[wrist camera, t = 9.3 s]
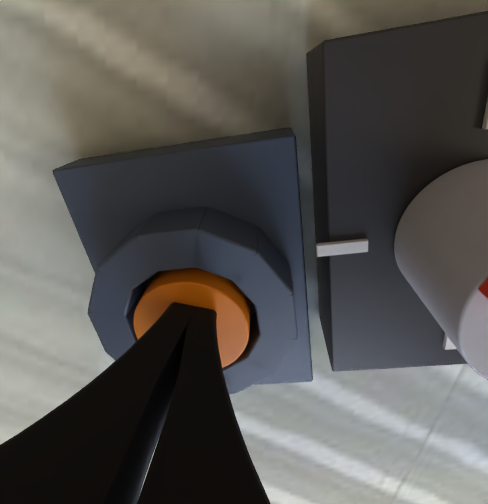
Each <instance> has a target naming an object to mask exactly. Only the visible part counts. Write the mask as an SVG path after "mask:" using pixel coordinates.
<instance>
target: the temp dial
mask: <svg viewBox="0 0 488 504" xmlns="http://www.w3.org/2000/svg"><path fill="white" fill-rule="evenodd" d="M394 253H395V259H396V262H397V265H398V267H399V269H400V271H401V273H402V274H403V275H404V277H405V278H406V280H407V281H408V282H409V284H410V285H411V286H412V288H413V289H414V291H415V292H416V293H417V295H418V296H419V297H420V299H421V300H422V302H423V303H424V304H425V306H426V307H427V308H428V310H429V311H430V313H431V314H432V315H433V317H434V318H435V319H436V321H437V322H438V324H439V325H440V326H441V328H442V329H443V331H444V332H445V333H446V335H447V336H448V337H449V339H450V340H451V342H452V343H453V344H454V346H455V347H456V348H457V350H458V351H459V353H460V354H461V355H462V357H463V358H464V359H465V361H466V362H467V363H468V364H469V366H470V367H471V368H472V369H474V370H475V371H476V372H477V373H478V374H480V375H481V376H483V377H485V378H486V379H488V159H485V160H480V161H475V162H472V163H468V164H465V165H462V166H460V167H457V168H455V169H453V170H450V171H449V172H447V173H445V174H443V175H441V176H440V177H438V178H437V179H435V180H434V181H432V182H431V183H430V184H429V185H427V186H426V187H425V188H424V189H423V190H422V191H421V192H420V193H419V194H418V195H417V196H416V197H415V198H414V199H413V200H412V202H411V203H410V204H409V206H408V207H407V209H406V210H405V212H404V214H403V215H402V217H401V219H400V222H399V224H398V227H397V230H396V234H395V241H394Z"/></svg>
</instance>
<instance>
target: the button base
mask: <svg viewBox="0 0 488 504" xmlns="http://www.w3.org/2000/svg"><path fill="white" fill-rule="evenodd" d="M53 174H54V177H55V179H56V181H57V184H58V186H59V189H60V191H61V193H62V196H63V198H64V200H65V203H66V205H67V208H68V210H69V212H70V215H71V217H72V219H73V222H74V224H75V227H76V229H77V231H78V234H79V236H80V238H81V241H82V243H83V246H84V248H85V250H86V253H87V255H88V257H89V260H90V262H91V265H92V267H93V269H94V272H95V278H94V283H93V288H92V293H91V298H90V303H89V308H88V315H89V317H90V319H91V321H92V323H93V326H94V328H95V330H96V332H97V334H98V336H99V338H100V341H101V343H102V345H103V347H104V349H105V351H106V352H107V354H109V355H110V356H111V357H112V358H114V359H115V360H117V359H118V358H119V357H120V356H122V355H123V354H124V353H125V352H126V351H127V350H128V349H129V348H130V347H131V346H132V345H133V344H134V343H135V342H136V341H137V340H138V338H137V336H136V333H135V330H134V324H133V320H134V312H135V309H136V307H137V305H138V303H139V301H140V299H141V298H142V296H143V294H144V292H145V291H146V289H147V287H148V285H149V284H150V282H151V280H152V279H153V277H154V275H155V273H157V272H158V271H165V270H175V269H185V268H195V267H197V268H199V269H202V270H205V271H208V272H210V273H213V274H216V275H219V276H221V277H224V278H227V279H230V280H232V281H233V282H234V283H235V284H236V285H237V286H238V287H239V288H240V290H241V291H242V292H243V293H244V294H245V295H246V296H247V297H248V298H249V299H250V300H251V312H250V329H249V339H248V343H247V345H246V348H245V349H244V351H243V352H242V354H241V355H240V356H239V357H238V358H237V359H236V360H235V361H234V362H232V363H231V364H229V365H228V366H225V367H223V368H222V369H223V373H224V378H225V382H226V386H227V389H228V393H229V394H233V393H235V392H236V393H237V392H240V391H242V390H244V389H246V388H248V387H250V386H252V385H257V384H275V383H293V382H311V381H312V380H313V375H312V361H311V347H310V333H309V319H308V305H307V290H306V276H305V262H304V248H303V234H302V220H301V206H300V192H299V178H298V164H297V149H296V137H295V135H294V133H293V131H292V130H291V128H284V129H277V130H270V131H264V132H257V133H250V134H244V135H237V136H230V137H224V138H217V139H210V140H204V141H197V142H190V143H184V144H177V145H170V146H163V147H157V148H150V149H143V150H137V151H130V152H123V153H117V154H110V155H103V156H97V157H90V158H83V159H79V160H76V161H74V162H71V163H69V164H66V165H64V166H61V167H59V168H56V169H54V170H53Z"/></svg>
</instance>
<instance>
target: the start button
mask: <svg viewBox="0 0 488 504" xmlns="http://www.w3.org/2000/svg"><path fill="white" fill-rule="evenodd" d="M173 302H177V303H182V304H187V305H192V306H197V307H202V308H208V309H213V310H215V312H216V313H217V319H216V328H217V339H218V347H219V353H220V358H221V364H222V368H223V367H225V366H228V365H229V364H231V363H232V362H234V361H235V360H236V359H237V358H238V357H239V356H240V355H241V354H242V352H243V351H244V349H245V348H246V345H247V343H248V339H249V329H250V312H251V300H250V299H249V298H248V297H247V296H246V295H245V294H244V293H243V292H242V291H241V290H240V288H239V287H238V286H237V285H236V284H235V283H234V282H233V281H232V280H230V279H227V278H224V277H221V276H219V275H216V274H213V273H210V272H208V271H205V270H202V269H199V268H197V267H195V268H185V269H175V270H165V271H158V272H157V273H155V275H154V277H153V279H152V280H151V282H150V284H149V285H148V287H147V289H146V291H145V292H144V294H143V296H142V298H141V299H140V301H139V303H138V305H137V307H136V309H135V312H134V320H133V324H134V330H135V333H136V336H137V338H138V339H139V338H140V337H141V336H142V335H143V334H144V333H145V332H146V331H147V330H148V329H149V328H150V327H151V326H152V325H153V324H154V323H155V322H156V321H157V320H158V319H159V317H160V316H161V315H162V314H163V313H164V311H165V310H166V309H167V308H168V306H169V305H170V304H172V303H173Z"/></svg>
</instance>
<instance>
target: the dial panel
mask: <svg viewBox="0 0 488 504" xmlns="http://www.w3.org/2000/svg"><path fill="white" fill-rule="evenodd" d="M306 56H307V76H308V96H309V116H310V136H311V155H312V175H313V195H314V215H315V234H316V254H317V274H318V294H319V313H320V321H321V325H322V329H323V334H324V338H325V342H326V346H327V350H328V355H329V359H330V363H331V367H332V370H333V371H351V370H368V369H385V368H401V367H418V366H435V365H452V364H468V363H467V362H466V361H465V359H464V358H463V357H462V355H461V354H460V353H459V351H458V350H457V348H456V347H455V346H454V344H453V343H452V342H451V340H450V339H449V337H448V336H447V335H446V333H445V332H444V331H443V329H442V328H441V326H440V325H439V324H438V322H437V321H436V319H435V318H434V317H433V315H432V314H431V313H430V311H429V310H428V308H427V307H426V306H425V304H424V303H423V302H422V300H421V299H420V297H419V296H418V295H417V293H416V292H415V291H414V289H413V288H412V286H411V285H410V284H409V282H408V281H407V280H406V278H405V277H404V275H403V274H402V273H401V271H400V269H399V267H398V265H397V262H396V259H395V253H394V241H395V234H396V230H397V227H398V224H399V222H400V219H401V217H402V215H403V214H404V212H405V210H406V209H407V207H408V206H409V204H410V203H411V202H412V200H413V199H414V198H415V197H416V196H417V195H418V194H419V193H420V192H421V191H422V190H423V189H424V188H425V187H426V186H427V185H429V184H430V183H431V182H432V181H434V180H435V179H437V178H438V177H440V176H441V175H443V174H445V173H447V172H449V171H450V170H453V169H455V168H457V167H460V166H462V165H465V164H468V163H472V162H475V161H480V160H485V159H488V11H485V12H480V13H474V14H469V15H463V16H458V17H452V18H447V19H441V20H435V21H430V22H424V23H419V24H413V25H408V26H402V27H396V28H391V29H385V30H380V31H374V32H369V33H363V34H357V35H352V36H346V37H341V38H335V39H330V40H324V41H323V42H322V43H320V44H319V45H318V46H316V47H315V48H313V49H312V50H311V51H309V52H308V53H307V55H306Z"/></svg>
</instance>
